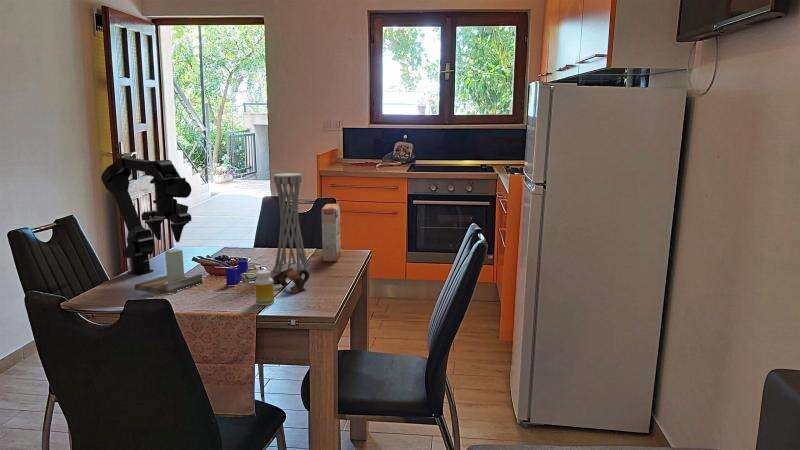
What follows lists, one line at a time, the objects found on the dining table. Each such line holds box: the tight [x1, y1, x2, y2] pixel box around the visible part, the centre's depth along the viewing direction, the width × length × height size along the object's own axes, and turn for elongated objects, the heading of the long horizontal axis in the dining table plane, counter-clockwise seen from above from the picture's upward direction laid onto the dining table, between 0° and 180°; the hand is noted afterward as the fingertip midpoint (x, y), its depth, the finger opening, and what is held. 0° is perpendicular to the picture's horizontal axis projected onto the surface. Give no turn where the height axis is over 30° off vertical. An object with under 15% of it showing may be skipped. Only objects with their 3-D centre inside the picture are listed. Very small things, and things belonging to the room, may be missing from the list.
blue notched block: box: [225, 259, 249, 286], centre depth 203 cm, size 12×4×6 cm, turn 174°
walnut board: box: [134, 273, 203, 294], centre depth 198 cm, size 16×14×3 cm
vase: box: [272, 172, 311, 274], centre depth 215 cm, size 14×13×35 cm
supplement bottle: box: [254, 269, 275, 306], centre depth 177 cm, size 5×5×10 cm
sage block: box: [164, 248, 185, 283], centre depth 195 cm, size 4×4×11 cm
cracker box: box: [321, 203, 342, 263], centre depth 234 cm, size 14×6×21 cm, turn 179°
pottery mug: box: [272, 268, 310, 294], centre depth 192 cm, size 12×10×8 cm
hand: (168, 241), depth 207 cm, fingers open, 9 cm apart
